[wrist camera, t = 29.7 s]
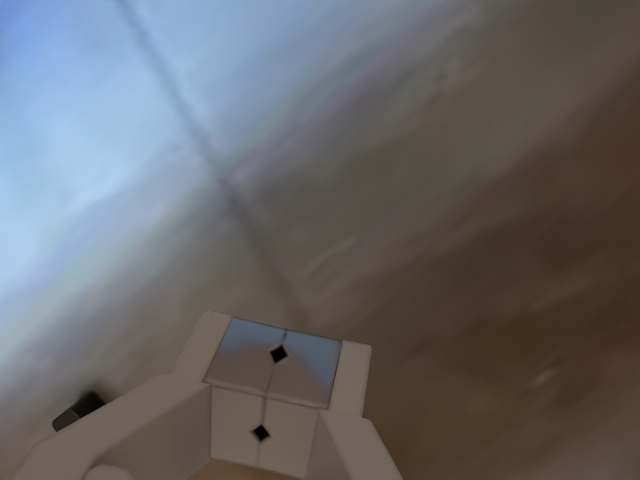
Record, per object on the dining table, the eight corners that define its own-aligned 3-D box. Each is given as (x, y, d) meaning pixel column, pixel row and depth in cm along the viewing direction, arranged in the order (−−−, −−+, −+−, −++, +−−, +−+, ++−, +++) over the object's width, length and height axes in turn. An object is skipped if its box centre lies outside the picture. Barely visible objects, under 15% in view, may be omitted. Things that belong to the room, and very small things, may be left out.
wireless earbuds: (125, 466, 53) (104, 489, 50) (73, 404, 52) (49, 423, 49) (160, 442, 51) (140, 464, 48) (107, 377, 51) (84, 396, 48)
